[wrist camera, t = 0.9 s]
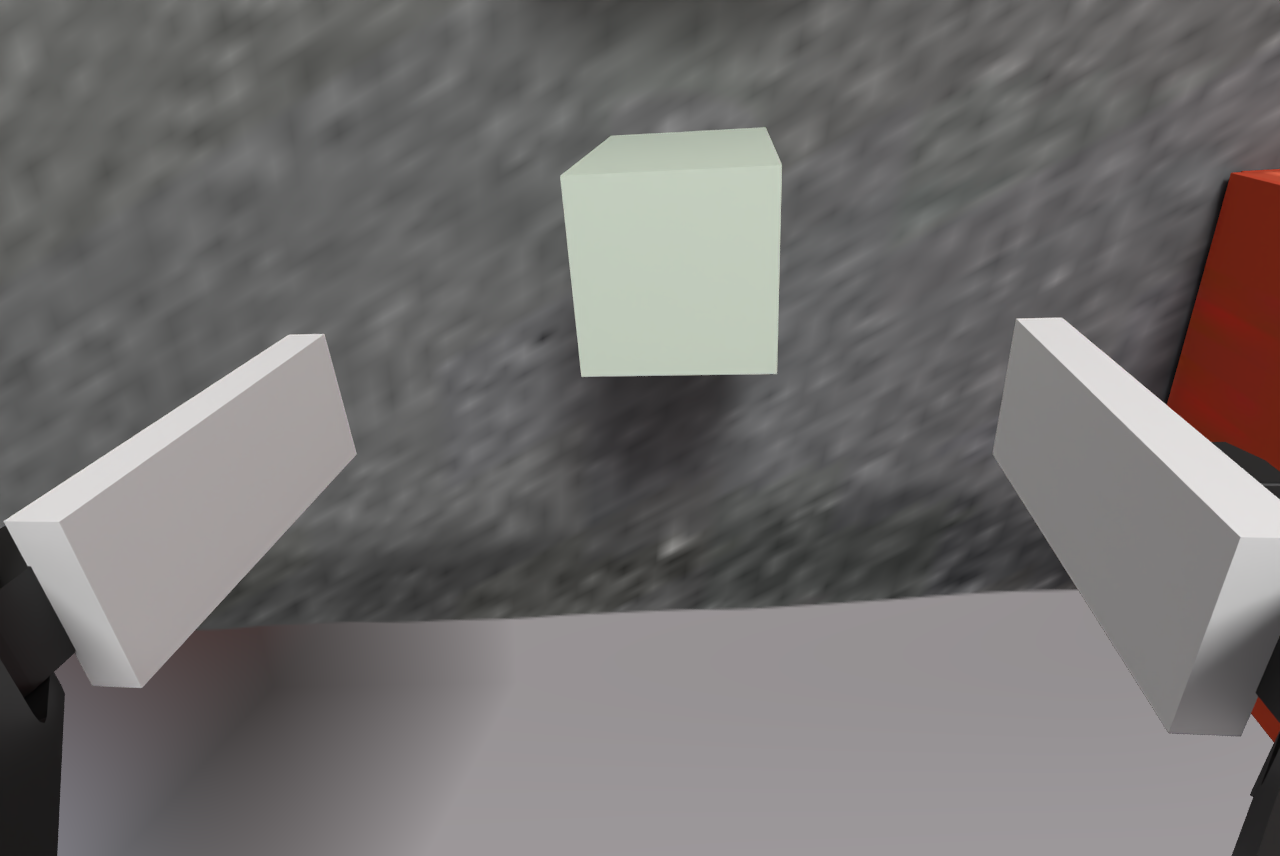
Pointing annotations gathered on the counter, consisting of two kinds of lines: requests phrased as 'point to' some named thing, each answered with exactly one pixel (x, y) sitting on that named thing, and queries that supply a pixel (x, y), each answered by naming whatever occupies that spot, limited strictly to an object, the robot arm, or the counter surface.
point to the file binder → (1238, 335)
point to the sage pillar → (676, 253)
